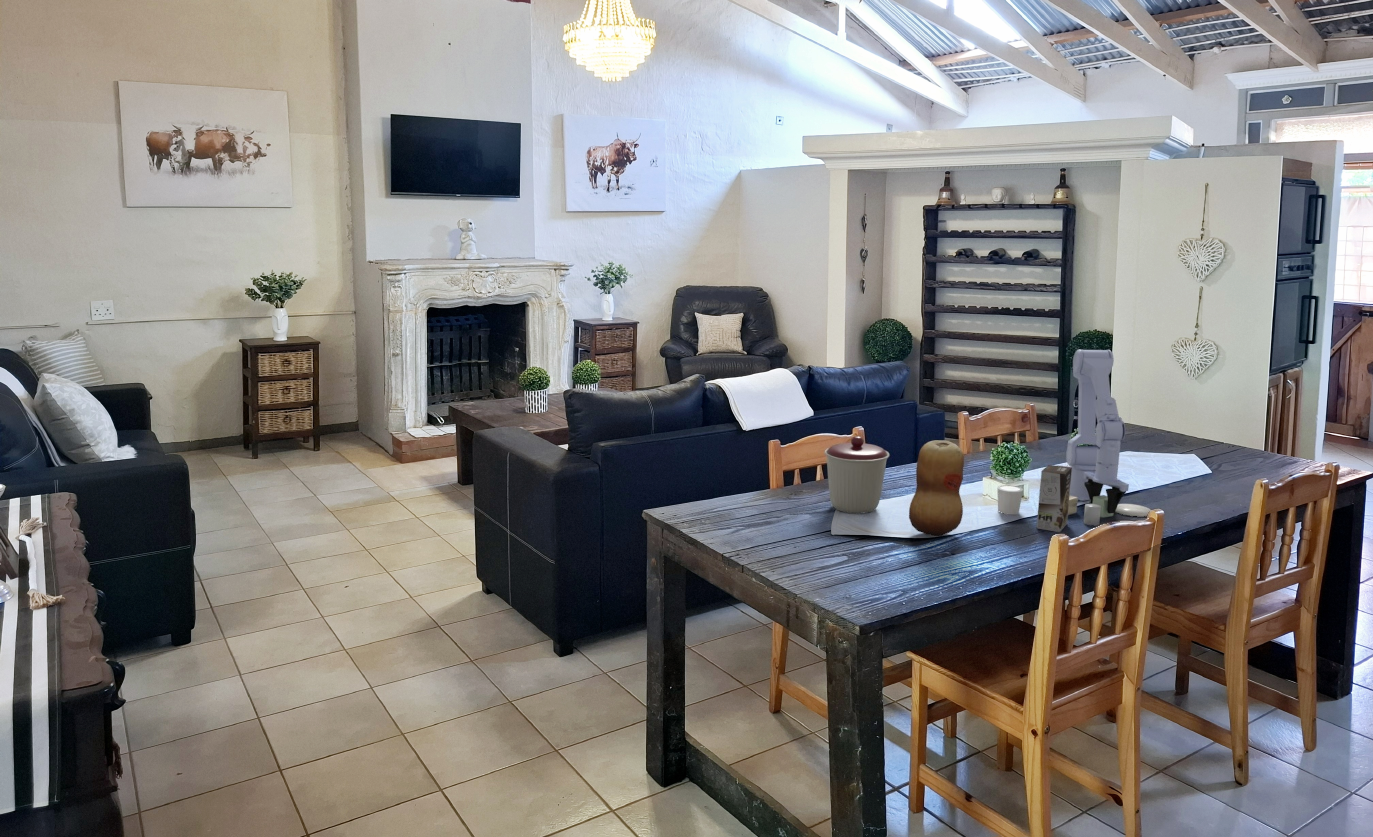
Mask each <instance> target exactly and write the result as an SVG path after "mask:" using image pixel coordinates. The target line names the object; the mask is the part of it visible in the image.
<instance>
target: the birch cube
mask: <svg viewBox="0 0 1373 837" xmlns="http://www.w3.org/2000/svg"><path fill="white" fill-rule="evenodd" d="M1078 501H1079V500H1078V497H1074V496H1069V507H1068V516H1069V515H1074V514H1076V513H1077V509H1078Z"/></svg>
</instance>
